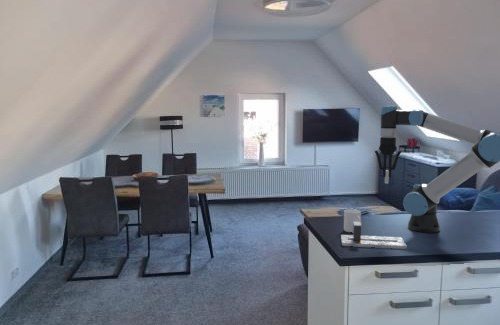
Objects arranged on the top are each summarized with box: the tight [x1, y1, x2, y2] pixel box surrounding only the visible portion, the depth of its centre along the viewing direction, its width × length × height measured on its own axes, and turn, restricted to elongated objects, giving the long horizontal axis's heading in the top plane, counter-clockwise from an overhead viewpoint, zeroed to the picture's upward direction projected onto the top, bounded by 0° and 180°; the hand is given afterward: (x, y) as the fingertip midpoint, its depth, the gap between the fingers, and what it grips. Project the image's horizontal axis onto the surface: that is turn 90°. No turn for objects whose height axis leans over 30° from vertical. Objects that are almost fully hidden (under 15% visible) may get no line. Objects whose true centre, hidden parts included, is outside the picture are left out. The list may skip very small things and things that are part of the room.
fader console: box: [340, 234, 408, 250], centre depth 193 cm, size 28×13×2 cm, turn 80°
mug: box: [343, 208, 363, 234], centre depth 211 cm, size 12×8×10 cm
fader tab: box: [352, 222, 362, 240], centre depth 194 cm, size 3×6×7 cm, turn 170°
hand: (386, 183), depth 212 cm, fingers closed
